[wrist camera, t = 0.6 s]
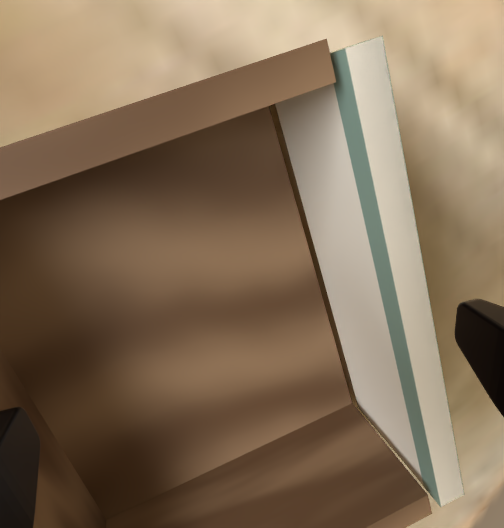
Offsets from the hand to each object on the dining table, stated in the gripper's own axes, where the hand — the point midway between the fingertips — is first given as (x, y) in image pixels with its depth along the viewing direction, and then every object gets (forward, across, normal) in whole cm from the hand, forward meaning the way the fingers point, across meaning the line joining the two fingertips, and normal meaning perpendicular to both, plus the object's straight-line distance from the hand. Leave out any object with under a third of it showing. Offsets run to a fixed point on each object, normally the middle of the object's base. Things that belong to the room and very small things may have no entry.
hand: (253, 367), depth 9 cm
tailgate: (+13, -6, +6) cm, 15 cm away
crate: (+12, +3, +7) cm, 14 cm away
